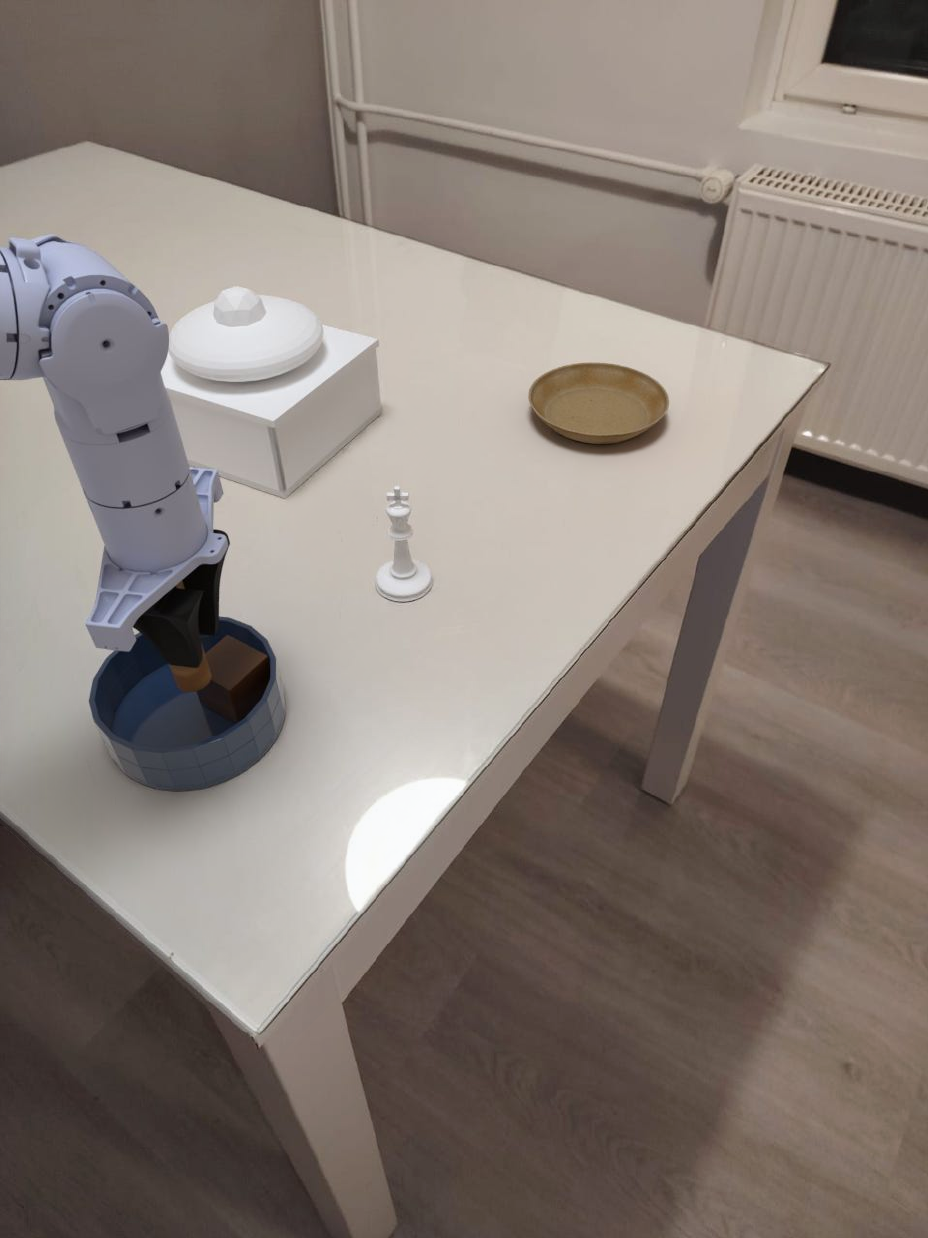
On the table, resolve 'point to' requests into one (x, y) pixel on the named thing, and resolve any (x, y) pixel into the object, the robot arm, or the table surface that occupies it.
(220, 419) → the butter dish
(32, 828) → the table surface
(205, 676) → the rod
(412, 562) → the chess piece
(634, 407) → the plant saucer
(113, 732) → the bowl
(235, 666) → the block
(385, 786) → the table surface
